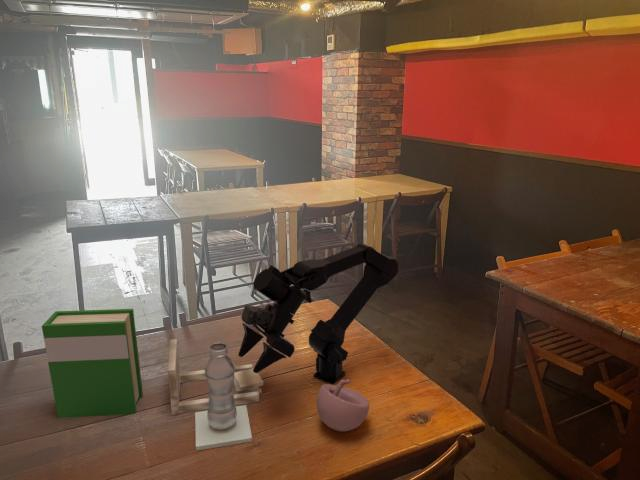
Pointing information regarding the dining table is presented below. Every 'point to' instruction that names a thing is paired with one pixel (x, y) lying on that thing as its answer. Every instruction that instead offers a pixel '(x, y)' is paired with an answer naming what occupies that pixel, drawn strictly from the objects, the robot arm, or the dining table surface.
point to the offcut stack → (247, 381)
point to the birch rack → (178, 378)
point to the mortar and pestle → (341, 406)
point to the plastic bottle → (220, 388)
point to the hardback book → (93, 362)
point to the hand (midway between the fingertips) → (246, 364)
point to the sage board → (222, 431)
